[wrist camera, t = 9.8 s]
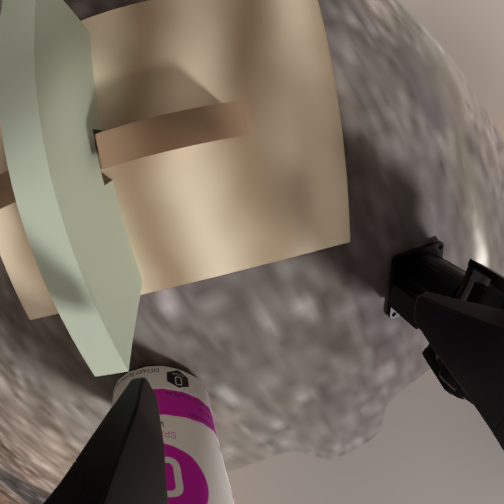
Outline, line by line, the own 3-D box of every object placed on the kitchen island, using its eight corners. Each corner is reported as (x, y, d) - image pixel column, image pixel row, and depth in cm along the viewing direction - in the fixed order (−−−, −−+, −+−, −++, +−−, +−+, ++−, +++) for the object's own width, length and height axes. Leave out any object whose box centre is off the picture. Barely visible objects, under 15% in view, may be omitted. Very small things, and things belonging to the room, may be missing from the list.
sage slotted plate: (65, 41, 11) (3, -9, 4) (89, 32, 11) (39, -29, 4) (120, 287, 17) (95, 376, 10) (142, 281, 17) (128, 371, 10)
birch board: (309, -4, 14) (315, -9, 13) (343, 237, 21) (350, 241, 20) (-25, 83, 10) (-32, 81, 9) (34, 313, 17) (29, 320, 16)
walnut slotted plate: (228, 109, 15) (243, 99, 11) (232, 136, 16) (249, 134, 12) (-10, 186, 12) (-45, 200, 9) (-4, 209, 13) (-38, 228, 9)
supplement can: (103, 361, 20) (88, 543, 6) (205, 357, 22) (254, 541, 8) (126, 420, 23) (132, 562, 9) (209, 416, 25) (247, 556, 11)
